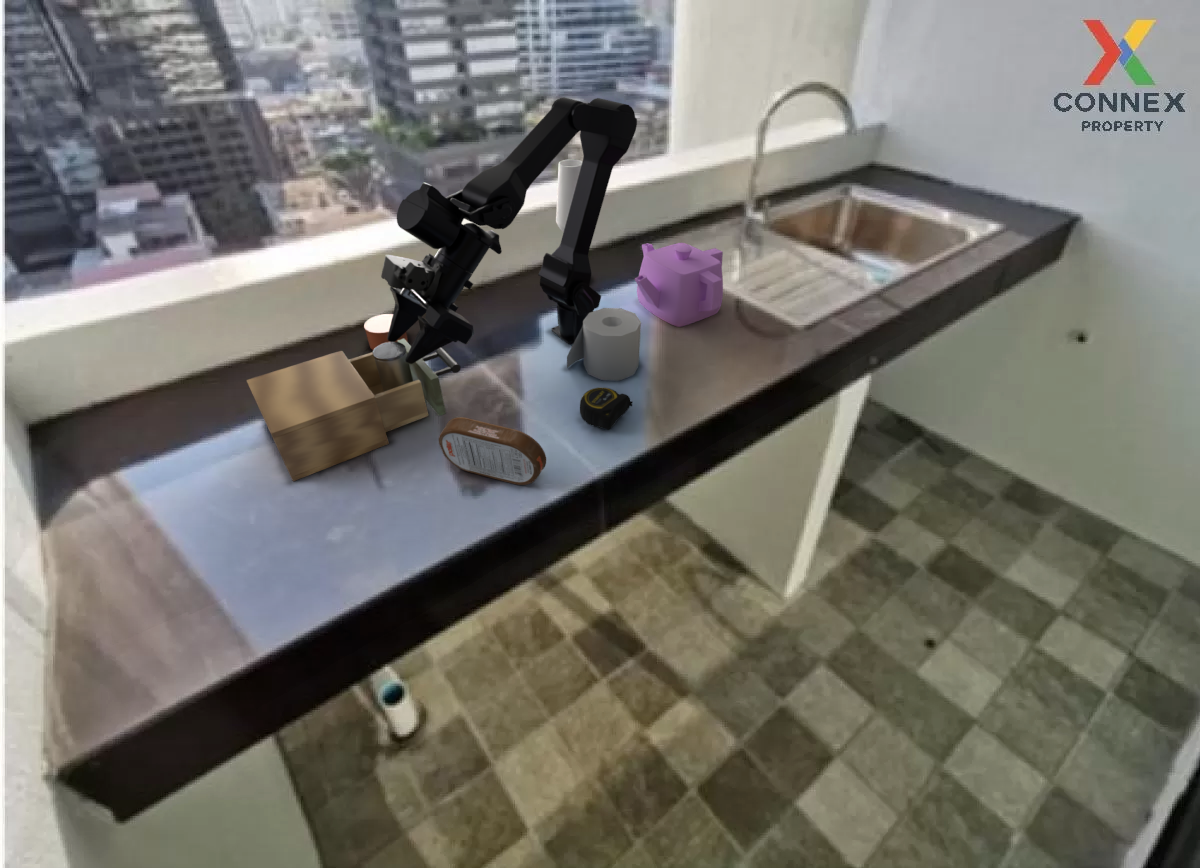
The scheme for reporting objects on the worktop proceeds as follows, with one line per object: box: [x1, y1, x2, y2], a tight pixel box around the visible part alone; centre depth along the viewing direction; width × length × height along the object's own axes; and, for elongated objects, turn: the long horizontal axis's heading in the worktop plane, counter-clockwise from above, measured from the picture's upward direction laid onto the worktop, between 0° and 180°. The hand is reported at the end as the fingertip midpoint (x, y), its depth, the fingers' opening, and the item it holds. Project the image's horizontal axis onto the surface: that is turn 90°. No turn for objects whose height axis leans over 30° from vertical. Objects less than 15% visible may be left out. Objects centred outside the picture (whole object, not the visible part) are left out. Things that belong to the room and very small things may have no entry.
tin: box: [438, 416, 547, 486], centre depth 81 cm, size 15×3×8 cm, turn 71°
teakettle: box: [634, 242, 724, 328], centre depth 117 cm, size 17×17×12 cm
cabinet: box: [246, 350, 390, 482], centre depth 87 cm, size 14×15×9 cm
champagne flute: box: [555, 158, 583, 233], centre depth 121 cm, size 7×7×24 cm
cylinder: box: [372, 342, 413, 392], centre depth 91 cm, size 5×5×8 cm
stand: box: [363, 313, 409, 351], centre depth 109 cm, size 7×7×4 cm
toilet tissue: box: [566, 307, 642, 382], centre depth 101 cm, size 9×13×9 cm
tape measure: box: [579, 387, 634, 430], centre depth 92 cm, size 7×7×4 cm
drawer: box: [348, 339, 462, 433], centre depth 93 cm, size 17×13×7 cm
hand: (398, 351), depth 90 cm, fingers open, 7 cm apart
